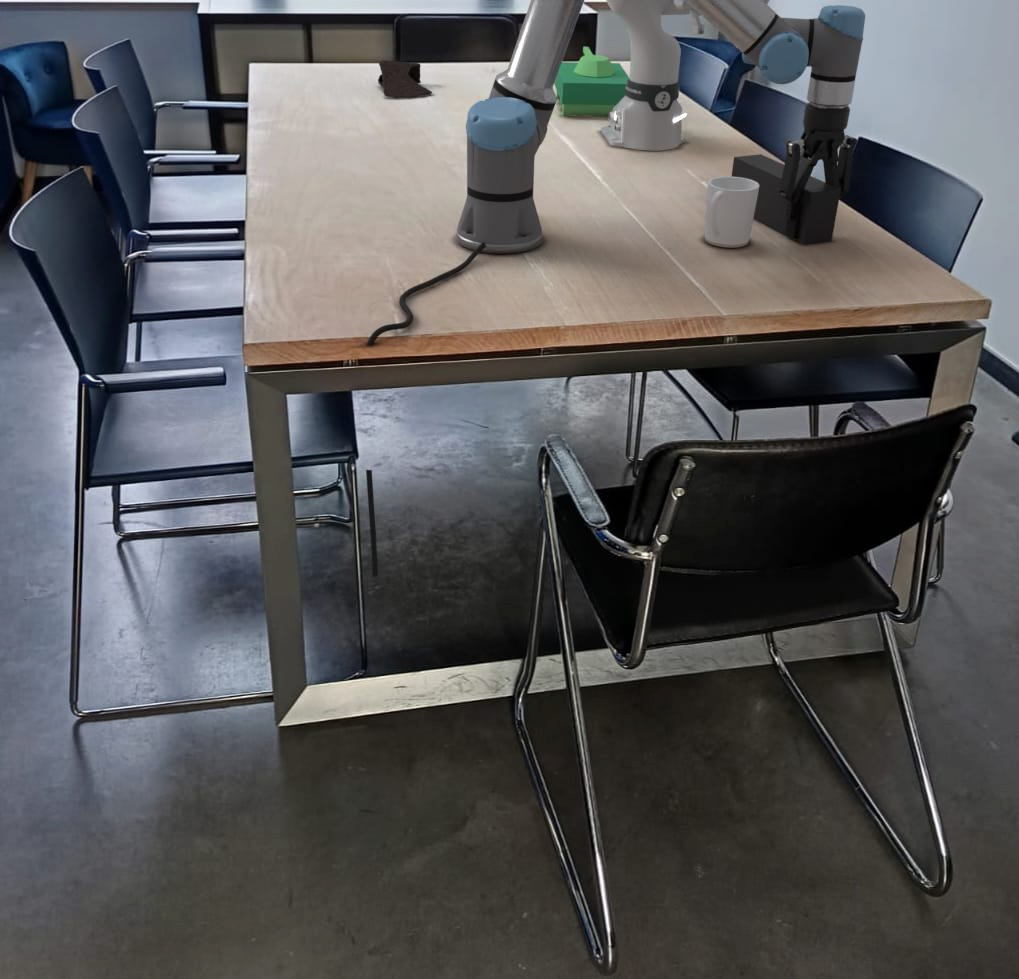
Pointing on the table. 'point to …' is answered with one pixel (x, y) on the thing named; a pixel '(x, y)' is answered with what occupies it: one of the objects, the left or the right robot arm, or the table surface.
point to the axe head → (401, 79)
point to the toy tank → (590, 85)
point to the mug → (730, 211)
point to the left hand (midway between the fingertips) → (806, 234)
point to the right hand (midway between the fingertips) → (718, 32)
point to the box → (771, 208)
